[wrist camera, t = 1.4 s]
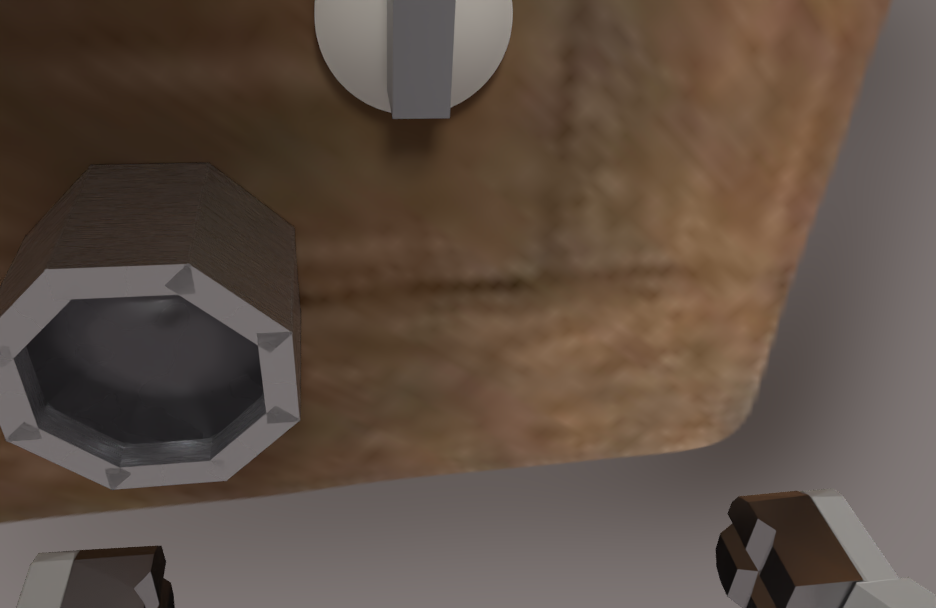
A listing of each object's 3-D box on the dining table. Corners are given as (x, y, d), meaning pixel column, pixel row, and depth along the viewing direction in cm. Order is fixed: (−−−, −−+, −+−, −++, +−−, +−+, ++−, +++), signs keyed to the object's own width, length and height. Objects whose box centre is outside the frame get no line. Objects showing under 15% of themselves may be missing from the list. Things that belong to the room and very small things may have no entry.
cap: (309, -97, 27) (309, -69, 25) (514, -90, 29) (538, -63, 26) (319, 102, 32) (320, 146, 29) (498, 101, 33) (517, 143, 30)
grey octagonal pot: (3, 166, 31) (-62, 272, 25) (289, 160, 33) (286, 259, 27) (68, 374, 37) (27, 497, 32) (305, 361, 39) (305, 475, 33)
